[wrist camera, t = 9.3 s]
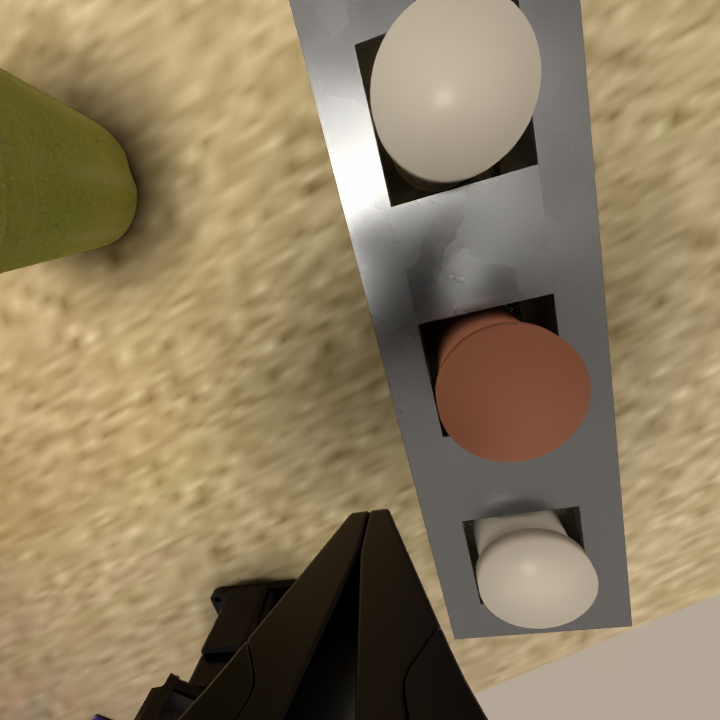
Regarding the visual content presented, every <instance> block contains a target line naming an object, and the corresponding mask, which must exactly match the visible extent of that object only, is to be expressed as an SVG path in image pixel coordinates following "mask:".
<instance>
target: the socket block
mask: <svg viewBox="0 0 720 720" xmlns="http://www.w3.org/2000/svg"><path fill="white" fill-rule="evenodd" d="M415 1H416V0H289V2H290V6H291V9H292V13H293V17H294V21H295V25H296V29H297V33H298V36H299V40H300V44H301V48H302V52H303V56H304V60H305V63H306V67H307V71H308V75H309V79H310V83H311V87H312V90H313V94H314V98H315V102H316V106H317V110H318V114H319V117H320V121H321V125H322V129H323V133H324V137H325V141H326V144H327V148H328V152H329V156H330V160H331V164H332V168H333V171H334V175H335V179H336V183H337V187H338V191H339V195H340V198H341V202H342V206H343V210H344V214H345V218H346V222H347V225H348V229H349V233H350V237H351V241H352V245H353V249H354V253H355V256H356V260H357V264H358V268H359V272H360V276H361V280H362V283H363V287H364V291H365V295H366V299H367V303H368V307H369V310H370V314H371V318H372V322H373V326H374V330H375V334H376V337H377V341H378V345H379V349H380V353H381V357H382V361H383V364H384V368H385V372H386V376H387V380H388V384H389V388H390V391H391V395H392V399H393V403H394V407H395V411H396V415H397V418H398V422H399V426H400V430H401V434H402V438H403V442H404V445H405V449H406V453H407V457H408V461H409V465H410V469H411V472H412V476H413V480H414V484H415V488H416V492H417V496H418V499H419V503H420V507H421V511H422V515H423V519H424V523H425V526H426V530H427V534H428V538H429V542H430V546H431V550H432V553H433V557H434V561H435V565H436V569H437V573H438V577H439V580H440V584H441V588H442V592H443V596H444V600H445V604H446V607H447V611H448V615H449V619H450V623H451V627H452V631H453V634H454V638H455V639H463V638H477V637H491V636H505V635H518V634H532V633H546V632H559V631H573V630H587V629H601V628H614V627H628V626H632V619H631V607H630V595H629V583H628V571H627V559H626V547H625V535H624V523H623V511H622V499H621V487H620V475H619V463H618V451H617V439H616V427H615V414H614V402H613V390H612V378H611V366H610V354H609V342H608V330H607V318H606V306H605V294H604V282H603V270H602V258H601V246H600V234H599V222H598V210H597V198H596V185H595V173H594V161H593V149H592V137H591V125H590V113H589V101H588V89H587V77H586V65H585V53H584V41H583V29H582V17H581V5H580V0H511V1H512V2H513V3H515V5H516V6H517V7H518V8H519V9H520V10H521V11H522V12H523V14H524V15H525V17H526V18H527V20H528V21H529V23H530V25H531V27H532V29H533V32H534V34H535V37H536V40H537V43H538V47H539V52H540V58H541V84H540V90H539V96H538V100H537V103H536V107H535V110H534V112H533V115H532V117H531V119H530V122H529V124H528V126H527V127H526V129H525V131H524V133H523V134H522V136H521V137H520V139H519V140H518V141H517V143H516V144H515V145H514V146H513V148H512V149H511V150H510V151H509V152H508V153H507V154H506V155H505V156H504V157H503V158H501V159H500V160H499V161H498V163H499V170H500V176H496V177H493V178H489V179H486V180H482V181H479V182H476V183H472V184H469V185H465V186H462V187H459V188H455V189H452V190H448V191H445V192H441V193H438V194H435V195H431V196H428V197H424V198H421V199H417V200H414V201H411V202H407V203H404V204H400V205H397V206H393V203H392V198H391V194H390V189H389V185H388V180H387V176H386V171H385V167H384V162H383V158H382V154H381V149H380V145H379V140H378V136H377V131H376V127H375V123H374V119H373V115H372V109H371V104H370V100H369V99H370V87H371V76H372V71H373V66H374V62H375V59H376V55H377V53H378V50H379V48H380V45H381V43H382V41H383V39H384V37H385V36H386V34H387V32H388V30H389V29H390V27H391V26H392V25H393V23H394V22H395V20H396V19H397V18H398V17H399V16H400V15H401V14H402V13H403V11H404V10H405V9H407V8H408V7H409V6H410V5H411V4H412V3H414V2H415ZM518 301H519V306H520V313H521V320H522V322H525V323H530V324H534V325H537V326H540V327H543V328H545V329H547V330H549V331H551V332H553V333H554V334H556V335H557V336H559V337H560V338H561V339H563V340H564V341H566V342H567V343H568V344H570V345H571V346H572V347H573V348H574V349H575V350H576V351H577V353H578V354H579V355H580V357H581V358H582V360H583V362H584V364H585V366H586V368H587V371H588V374H589V378H590V384H591V395H590V402H589V406H588V409H587V412H586V414H585V417H584V419H583V421H582V422H581V424H580V426H579V427H578V429H577V430H576V431H575V432H574V433H573V435H572V436H571V437H570V438H569V439H568V440H567V441H566V442H564V443H563V444H562V445H560V446H559V447H558V448H556V449H554V450H553V451H551V452H549V453H547V454H545V455H542V456H540V457H537V458H534V459H530V460H526V461H520V462H498V461H492V460H487V459H484V458H481V457H478V456H476V455H474V454H472V453H470V452H468V451H466V450H465V449H463V448H462V447H461V446H459V445H458V444H457V443H456V442H455V441H454V440H453V439H452V438H451V436H450V435H449V434H448V432H447V431H446V429H445V428H444V426H443V424H442V422H441V419H440V416H439V412H438V407H437V401H436V390H434V386H433V381H432V377H431V372H430V368H429V363H428V359H427V354H426V350H425V345H424V341H423V337H422V332H421V328H420V324H422V323H426V322H431V321H435V320H440V319H444V318H448V317H453V316H457V315H461V314H466V313H470V312H474V311H479V310H483V309H487V308H492V307H496V306H500V305H505V304H509V303H513V302H518ZM553 509H554V511H555V513H556V515H557V516H558V518H559V520H560V522H561V524H562V526H563V528H564V530H565V531H566V533H567V535H568V537H570V538H571V539H573V540H574V541H575V542H576V543H578V544H579V545H580V546H581V548H582V549H583V550H584V551H585V553H586V555H587V556H588V558H589V560H590V562H591V564H592V565H593V567H594V569H595V571H596V574H597V577H598V593H597V595H596V598H595V600H594V602H593V604H592V605H591V606H590V608H589V609H588V610H587V611H586V612H585V613H584V614H582V615H581V616H580V617H578V618H577V619H575V620H573V621H571V622H569V623H566V624H564V625H560V626H557V627H552V628H544V629H534V628H525V627H520V626H516V625H513V624H510V623H508V622H506V621H503V620H502V619H500V618H498V617H497V616H496V615H494V614H493V613H492V612H491V611H490V610H489V609H488V608H487V607H486V605H485V604H484V602H483V600H482V598H481V595H480V592H479V587H478V582H477V577H476V565H477V561H478V558H479V554H478V550H477V545H476V541H475V536H474V532H473V527H472V526H471V527H465V524H464V521H468V520H476V519H484V518H492V517H499V516H507V515H515V514H522V513H530V512H538V511H545V510H553Z"/></svg>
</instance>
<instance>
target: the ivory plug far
mask: <svg viewBox="0 0 720 720" xmlns="http://www.w3.org/2000/svg"><path fill="white" fill-rule="evenodd" d="M471 523H472V527H473V532H474V536H475V541H476V545H477V550H478V554H479V558H478V561H477V565H476V577H477V582H478V587H479V592H480V595H481V598H482V600H483V602H484V604H485V605H486V607H487V608H488V609H489V610H490V611H491V612H492V613H493V614H494V615H496V616H497V617H498V618H500V619H502V620H503V621H506V622H508V623H510V624H513V625H516V626H520V627H525V628H534V629H544V628H552V627H557V626H560V625H564V624H566V623H569V622H571V621H573V620H575V619H577V618H578V617H580V616H581V615H582V614H584V613H585V612H586V611H587V610H588V609H589V608H590V606H591V605H592V604H593V602H594V600H595V598H596V595H597V593H598V577H597V574H596V571H595V569H594V567H593V565H592V564H591V562H590V560H589V558H588V556H587V555H586V553H585V551H584V550H583V549H582V548H581V546H580V545H579V544H578V543H576V542H575V541H574V540H573V539H571V538H570V537H568V535H567V533H566V531H565V530H564V528H563V526H562V524H561V522H560V520H559V518H558V516H557V515H556V513H555V511H554V509H553V510H545V511H538V512H530V513H522V514H515V515H507V516H499V517H492V518H484V519H476V520H471Z"/></svg>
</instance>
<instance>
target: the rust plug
mask: <svg viewBox="0 0 720 720" xmlns="http://www.w3.org/2000/svg"><path fill="white" fill-rule="evenodd" d="M434 353H435V358H436V362H437V366H438V371H439V372H438V376H437V380H436V401H437V407H438V412H439V416H440V419H441V422H442V424H443V426H444V428H445V429H446V431H447V432H448V434H449V435H450V436H451V438H452V439H453V440H454V441H455V442H456V443H457V444H458V445H459V446H461V447H462V448H463V449H465V450H466V451H468V452H470V453H472V454H474V455H476V456H478V457H481V458H484V459H487V460H492V461H498V462H520V461H526V460H530V459H534V458H537V457H540V456H542V455H545V454H547V453H549V452H551V451H553V450H554V449H556V448H558V447H559V446H560V445H562V444H563V443H564V442H566V441H567V440H568V439H569V438H570V437H571V436H572V435H573V433H574V432H575V431H576V430H577V429H578V427H579V426H580V424H581V422H582V421H583V419H584V417H585V414H586V412H587V409H588V406H589V402H590V395H591V384H590V378H589V374H588V371H587V368H586V366H585V364H584V362H583V360H582V358H581V357H580V355H579V354H578V353H577V351H576V350H575V349H574V348H573V347H572V346H571V345H570V344H568V343H567V342H566V341H564V340H563V339H561V338H560V337H559V336H557V335H556V334H554V333H553V332H551V331H549V330H547V329H545V328H543V327H540V326H537V325H534V324H530V323H525V322H522V321H520V320H519V319H518V318H516V317H515V316H514V315H513V314H511V313H510V312H509V311H507V310H506V309H504V308H503V307H501V306H496V307H492V308H487V309H483V310H479V311H474V312H470V313H466V314H461V315H457V316H453V317H448V318H444V319H443V320H442V321H441V323H440V324H439V326H438V328H437V330H436V333H435V337H434Z"/></svg>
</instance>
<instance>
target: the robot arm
mask: <svg viewBox="0 0 720 720" xmlns="http://www.w3.org/2000/svg"><path fill="white" fill-rule="evenodd" d="M211 601H212V603H213V605H214V607H215V609H216V612H217V614H218V617H217V619H216V621H215V623H214V625H213V627H212V629H211V631H210V633H209V635H208V637H207V639H206V641H205V643H204V645H203V647H202V650H201V652H202V656H201V658H200V660H199V662H198V664H197V666H196V668H195V670H194V672H193V674H192V676H191V678H190V680H189V682H186V681H183V680H181V679H179V678H180V677H179V676H177V675H174V674H172V673H171V674H170V675H169V677H168V679H167V681H166V682H165V684H164V685H162V687H156V688H152V689H151V691H150V693H149V694H148V696H147V698H146V700H145V701H144V703H143V705H142V707H141V709H140V710H139V712H138V714H137V716H136V717H135V719H134V720H488V719H487V717H486V715H485V714H484V712H483V710H482V709H481V707H480V705H479V703H478V701H477V700H476V698H475V696H474V694H473V693H472V691H471V689H470V687H469V685H468V684H467V682H466V680H465V678H464V676H463V674H462V672H461V670H460V668H459V666H458V664H457V662H456V659H455V657H454V655H453V653H452V651H451V649H450V647H449V644H448V642H447V640H446V638H445V635H444V633H443V631H442V630H441V627H440V625H439V622H438V620H437V618H436V615H435V613H434V611H433V609H432V606H431V604H430V602H429V600H428V597H427V595H426V593H425V591H424V588H423V586H422V584H421V581H420V579H419V577H418V575H417V572H416V570H415V568H414V566H413V563H412V561H411V559H410V557H409V554H408V552H407V550H406V547H405V545H404V543H403V541H402V538H401V536H400V534H399V532H398V529H397V527H396V525H395V522H394V520H393V518H392V516H391V513H390V511H389V510H388V509H381V510H373V511H371V512H370V513H369V512H368V511H365V512H357V513H352V514H351V515H350V516H349V517H348V518H347V519H346V521H345V522H344V523H343V524H342V525H341V527H340V528H339V529H338V530H337V532H336V533H335V534H334V535H333V536H332V538H331V539H330V540H329V541H328V542H327V544H326V545H325V546H324V547H323V549H322V550H321V551H320V552H319V553H318V555H317V556H316V557H315V558H314V559H313V561H312V562H311V563H310V564H309V566H308V567H307V568H306V569H305V570H304V572H303V573H302V574H301V575H300V577H299V578H298V579H297V580H296V581H285V582H276V583H267V584H258V585H249V586H240V587H231V588H222V589H216V590H215V591H214V592H213V594H212V596H211Z"/></svg>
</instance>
